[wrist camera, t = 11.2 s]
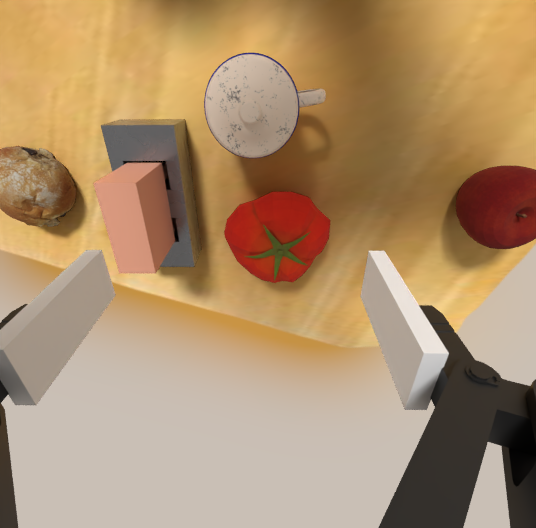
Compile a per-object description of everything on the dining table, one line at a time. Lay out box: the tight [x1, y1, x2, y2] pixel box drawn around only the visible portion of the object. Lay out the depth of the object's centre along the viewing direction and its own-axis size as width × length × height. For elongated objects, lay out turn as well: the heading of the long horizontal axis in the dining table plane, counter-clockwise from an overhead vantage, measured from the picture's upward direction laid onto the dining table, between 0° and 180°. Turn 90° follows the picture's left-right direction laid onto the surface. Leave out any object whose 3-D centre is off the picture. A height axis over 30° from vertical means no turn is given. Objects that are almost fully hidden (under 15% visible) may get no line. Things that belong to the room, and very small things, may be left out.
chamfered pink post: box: [93, 163, 177, 273], centre depth 37 cm, size 10×4×11 cm, turn 0°
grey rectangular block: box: [101, 119, 202, 267], centre depth 41 cm, size 18×8×5 cm, turn 0°
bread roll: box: [0, 146, 76, 227], centre depth 41 cm, size 10×10×8 cm
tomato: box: [224, 192, 330, 283], centre depth 42 cm, size 14×13×9 cm
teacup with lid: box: [204, 53, 326, 158], centre depth 33 cm, size 12×9×12 cm
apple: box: [456, 166, 536, 249], centre depth 39 cm, size 10×10×10 cm
